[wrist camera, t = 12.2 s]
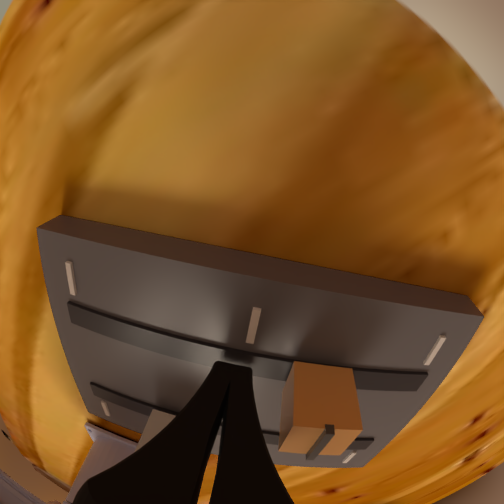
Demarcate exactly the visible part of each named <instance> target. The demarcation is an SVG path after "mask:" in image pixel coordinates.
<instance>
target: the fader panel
mask: <svg viewBox="0 0 504 504" xmlns="http://www.w3.org/2000/svg"><path fill="white" fill-rule="evenodd" d="M37 235H38V242H39V249H40V256H41V262H42V267H43V273H44V278H45V283H46V287H47V292H48V296H49V300H50V304H51V308H52V312H53V316H54V320H55V323H56V327H57V330H58V334H59V337H60V340H61V343H62V346H63V349H64V352H65V355H66V358H67V361H68V364H69V366H70V369H71V372H72V374H73V377H74V380H75V382H76V385H77V387H78V389H79V392H80V394H81V396H82V399H83V401H84V403H85V406H86V408H87V410H88V412H89V413H92V414H94V415H96V416H98V417H101V418H103V419H105V420H108V421H110V422H112V423H115V424H117V425H120V426H122V427H125V428H128V429H130V430H133V431H136V432H138V433H141V434H142V433H143V431H144V428H145V426H146V424H147V421H148V419H149V417H150V414H151V412H152V410H153V409H155V410H158V411H162V412H165V413H168V414H172V415H175V416H177V414H178V413H179V412H180V411H181V410H182V409H183V408H184V407H185V405H186V404H187V403H188V402H189V401H190V399H191V398H192V397H193V396H194V394H195V393H196V392H197V390H198V389H199V388H200V386H201V385H202V383H203V382H204V380H205V379H206V377H207V376H208V374H209V372H210V371H211V369H212V367H213V365H214V363H215V362H216V361H222V362H227V363H231V364H236V365H241V366H246V367H251V369H252V370H253V390H254V398H255V403H256V408H257V413H258V418H259V422H260V426H261V429H262V433H263V436H264V439H265V442H266V445H267V448H268V451H269V453H270V456H271V459H272V461H273V463H274V464H279V465H290V466H303V467H327V468H351V467H363V466H365V465H366V464H367V463H368V462H369V461H370V460H371V459H372V458H373V457H375V456H376V455H377V454H378V453H379V452H380V451H381V450H382V449H383V448H384V447H385V446H386V445H387V444H388V443H389V442H390V441H391V440H392V439H393V438H394V437H395V436H396V435H397V434H398V433H399V432H400V431H401V430H402V429H403V428H404V427H405V426H406V425H407V424H408V422H409V421H410V420H411V419H412V418H413V417H414V416H415V415H416V413H417V412H418V411H419V410H420V409H421V408H422V406H423V405H424V404H425V403H426V402H427V400H428V399H429V398H430V397H431V396H432V394H433V393H434V392H435V390H436V389H437V388H438V387H439V385H440V384H441V383H442V381H443V380H444V379H445V377H446V376H447V375H448V373H449V372H450V370H451V369H452V368H453V366H454V365H455V363H456V362H457V360H458V359H459V357H460V356H461V354H462V353H463V351H464V350H465V348H466V347H467V345H468V344H469V342H470V340H471V339H472V337H473V335H474V334H475V332H476V330H477V329H478V327H479V325H480V323H481V322H482V320H483V318H484V316H483V314H482V313H481V312H480V311H479V309H478V308H477V307H476V306H475V304H474V303H473V302H472V301H471V300H470V298H469V297H468V296H466V295H461V294H456V293H451V292H446V291H440V290H435V289H430V288H425V287H420V286H415V285H410V284H405V283H400V282H395V281H390V280H385V279H380V278H375V277H370V276H364V275H359V274H354V273H349V272H344V271H339V270H334V269H329V268H324V267H319V266H314V265H309V264H304V263H299V262H294V261H289V260H284V259H279V258H274V257H269V256H264V255H259V254H254V253H249V252H244V251H239V250H234V249H229V248H224V247H219V246H214V245H209V244H204V243H199V242H194V241H189V240H184V239H179V238H174V237H169V236H164V235H159V234H154V233H149V232H144V231H139V230H134V229H129V228H124V227H119V226H114V225H109V224H104V223H99V222H94V221H89V220H84V219H79V218H74V217H69V216H64V215H59V216H57V217H56V218H54V219H52V220H50V221H48V222H46V223H44V224H42V225H41V226H39V227H37ZM294 361H298V362H304V363H311V364H319V365H326V366H335V367H343V368H352V370H353V375H354V380H355V386H356V391H357V397H358V402H359V408H360V414H361V421H362V427H363V431H362V432H361V433H360V434H359V435H358V436H357V437H356V439H355V440H354V441H353V442H352V443H351V444H350V445H349V446H348V447H347V449H346V450H345V451H344V452H343V453H342V454H341V455H318V456H317V457H316V458H315V459H314V460H306V454H300V453H289V452H279V451H278V447H279V433H280V418H281V402H282V391H283V388H284V386H285V383H286V381H287V378H288V376H289V373H290V371H291V368H292V366H293V363H294ZM222 421H223V419H222ZM221 429H222V422H221V425H220V428H219V431H218V434H217V437H216V439H215V442H214V445H213V448H212V451H211V454H216V455H219V446H220V437H221Z"/></svg>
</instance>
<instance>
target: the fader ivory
mask: <svg viewBox="0 0 504 504" xmlns="http://www.w3.org/2000/svg"><path fill="white" fill-rule="evenodd" d="M175 417H176V416H175V415H172V414H168V413H165V412H162V411H158V410H155V409H153V410H152V412H151V414H150V417H149V419H148V421H147V424H146V426H145V428H144V431H143V433H142V435H141V438H140V440H139V442H138V445H137V447H136V450H135V451H137V450H138V449H140V448H141V447H142V446H144V445H145V444H146V443H147V442H148V441H150V440H151V439H152V438H153V437H155V436H156V435H157V434H158V433H159V432H160V431H161V430H162V429H164V428H165V427H166V426H167V425H168V424H169V423H170V422H171V421H172V420H173V419H174V418H175Z"/></svg>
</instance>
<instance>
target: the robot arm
mask: <svg viewBox="0 0 504 504" xmlns="http://www.w3.org/2000/svg"><path fill="white" fill-rule="evenodd" d="M222 419H223V421H222ZM221 422H222V429H221V437H220V446H219V455H218V463H217V470H216V475H215V480H214V484H213V489H212V493H211V498H210V502H209V504H294V502H293V500H292V499H291V497H290V495H289V494H288V492H287V490H286V488H285V486H284V484H283V482H282V480H281V479H280V477H279V475H278V472H277V470H276V468H275V466H274V463H273V461H272V459H271V456H270V453H269V451H268V448H267V445H266V442H265V439H264V436H263V433H262V429H261V426H260V422H259V418H258V413H257V408H256V403H255V398H254V390H253V370H252V369H251V367H246V366H241V365H236V364H231V363H227V362H222V361H216V362H215V363H214V365H213V367H212V369H211V371H210V372H209V374H208V376H207V377H206V379H205V380H204V382H203V383H202V385H201V386H200V388H199V389H198V390H197V392H196V393H195V394H194V396H193V397H192V398H191V399H190V401H189V402H188V403H187V404H186V405H185V407H184V408H183V409H182V410H181V411H180V412H179V413H178V414H177V416H176V417H175V418H174V419H173V420H172V421H171V422H170V423H169V424H168V425H167V426H166V427H165V428H164V429H162V430H161V431H160V432H159V433H158V434H157V435H156V436H155V437H153V438H152V439H151V440H150V441H148V442H147V443H146V444H145V445H144V446H142V447H141V448H140V449H138V450H137V451H135V450H136V447H137V445H138V443H136V442H133V441H131V440H128V439H125V438H123V437H120V436H118V435H115V434H113V433H110V432H108V431H106V430H103V429H101V428H99V427H97V426H95V425H92V424H90V423H87V422H86V423H85V427H86V429H87V431H88V433H89V435H90V436H91V438H92V440H93V441H94V443H93V445H92V447H91V449H90V451H89V453H88V455H87V457H86V459H85V461H84V463H83V465H82V467H81V469H80V471H79V473H78V475H77V477H76V479H75V481H74V483H73V485H72V487H71V489H70V492H69V494H68V496H67V498H66V501H67V502H66V501H64V502H63V504H69V503H70V504H197V502H198V497H199V493H200V489H201V485H202V481H203V476H204V472H205V469H206V466H207V462H208V459H209V457H210V454H211V451H212V448H213V445H214V442H215V439H216V437H217V434H218V431H219V428H220V425H221ZM0 504H61V503H60V502H58V501H57V500H55V501H49V502H48V503H45V502H43V501H42V500H40V499H39V498H37V497H36V496H34V495H33V494H32V493H30V492H29V491H27V490H26V489H25V488H23V487H22V486H20V485H19V484H18V483H16V482H15V481H14V480H13V479H11V478H10V476H8V475H7V474H6V473H5V472H3V471H2V470H1V469H0Z"/></svg>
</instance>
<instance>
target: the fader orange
mask: <svg viewBox="0 0 504 504" xmlns="http://www.w3.org/2000/svg"><path fill="white" fill-rule="evenodd" d="M362 431H363V427H362V421H361V414H360V408H359V402H358V397H357V391H356V386H355V380H354V375H353V370H352V368H343V367H335V366H326V365H319V364H311V363H304V362H298V361H294V363H293V366H292V368H291V371H290V373H289V376H288V378H287V381H286V383H285V386H284V388H283V391H282V402H281V418H280V433H279V447H278V451H279V452H289V453H300V454H306V460H314V459H315V458H316V457H317V456H318V455H341V454H342V453H343V452H344V451H345V450H346V449H347V447H348V446H349V445H350V444H351V443H352V442H353V441H354V440H355V439H356V437H357V436H358V435H359V434H360V433H361V432H362Z"/></svg>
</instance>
